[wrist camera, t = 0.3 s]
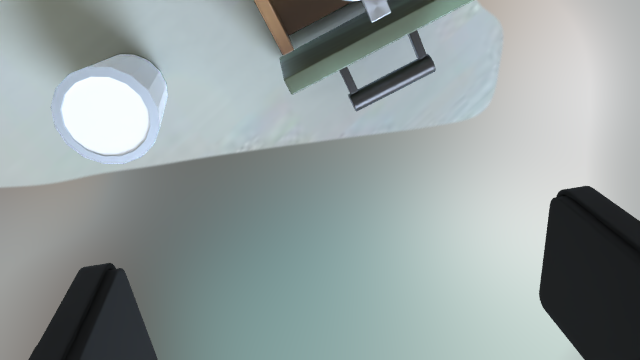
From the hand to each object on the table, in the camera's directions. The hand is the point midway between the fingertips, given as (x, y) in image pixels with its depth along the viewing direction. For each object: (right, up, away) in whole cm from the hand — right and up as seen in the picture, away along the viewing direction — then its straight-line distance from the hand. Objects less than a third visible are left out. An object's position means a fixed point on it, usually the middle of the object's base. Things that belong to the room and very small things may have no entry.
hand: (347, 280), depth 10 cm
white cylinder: (-16, +9, +27) cm, 33 cm away
